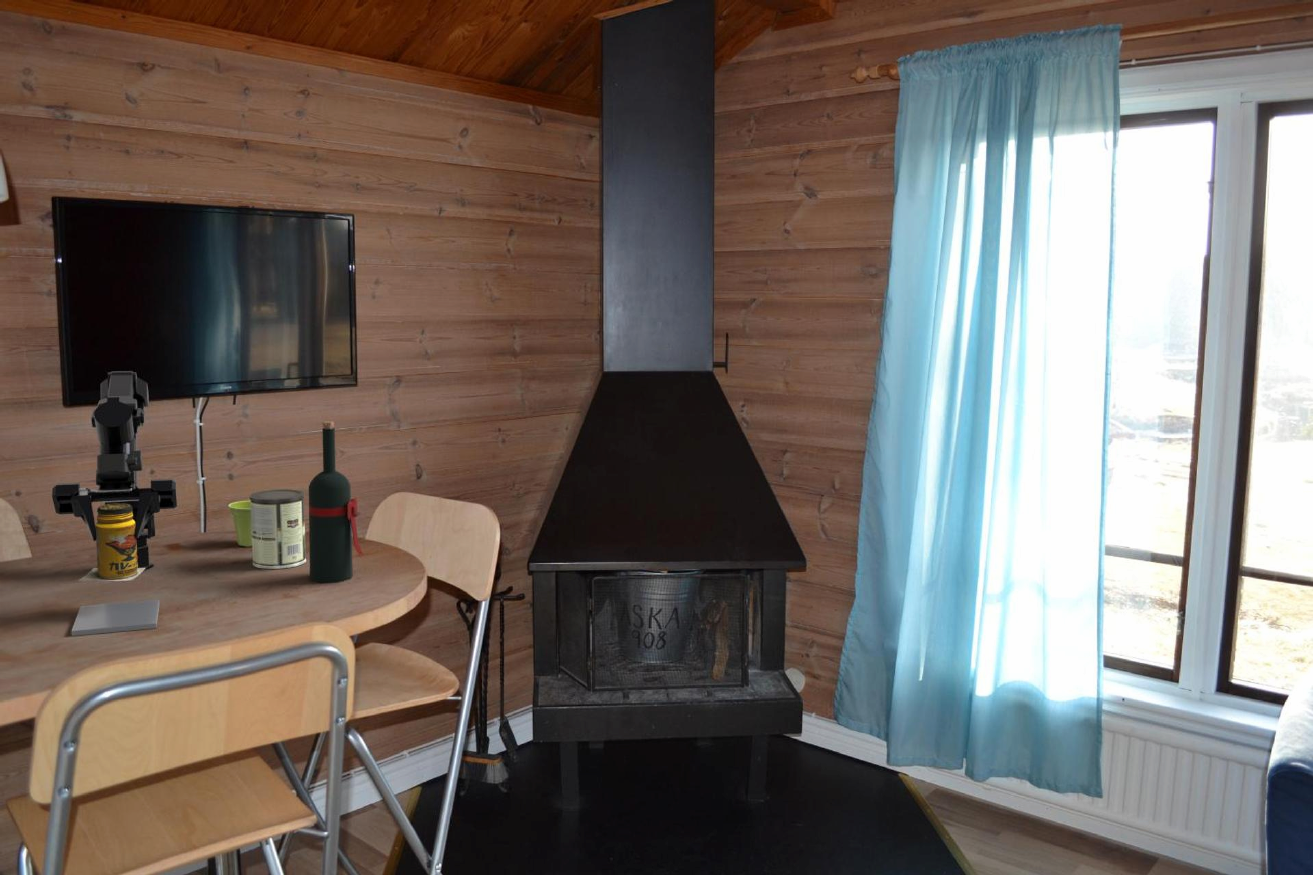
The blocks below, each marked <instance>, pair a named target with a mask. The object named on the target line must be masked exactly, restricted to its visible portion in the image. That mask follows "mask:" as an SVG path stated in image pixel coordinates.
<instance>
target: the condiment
mask: <svg viewBox="0 0 1313 875" xmlns="http://www.w3.org/2000/svg"><path fill="white" fill-rule="evenodd" d="M96 512H97V516H96V520H97V521H96V522H95V528H96V541H95V545H96V548H95V549H96V561H97V562H96V564H97V566H96V567H93V568H92V570H90V571H89V572H88V573H87V574H85V575H84V576H82V577H81V578H80V579H78V580H77V581H78V582H82V581H84V582H89V581H92V582H94V581H99V582H101V581H104V582H111V581H112V582H113V581H115V582H120V581H126V582H127V581H133V580H134V579H136V578H137V577H138V576H140V574H142V572H144V570H146V569H145V568H138V563H137V558H138V557H137V543H136V537H135V527H136V523H135V521H134V520H133V519H132V518H133V514H132V506H131V505H129V504H124V503H115V504H107V505H105V504H103V505H100V506H99V507H97V510H96Z"/></svg>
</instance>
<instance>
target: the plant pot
mask: <svg viewBox="0 0 1313 875" xmlns="http://www.w3.org/2000/svg"><path fill="white" fill-rule="evenodd" d="M227 505H228V508H229V509H230V512H231V515H232V518H233V523H234V524H233V525H234V529H235V537H236V541H237V544H238V546H240V547H246V548H247V547H248V548H249V547H252V527H251V500H240V501H235V502H231V503H229V504H227Z"/></svg>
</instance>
